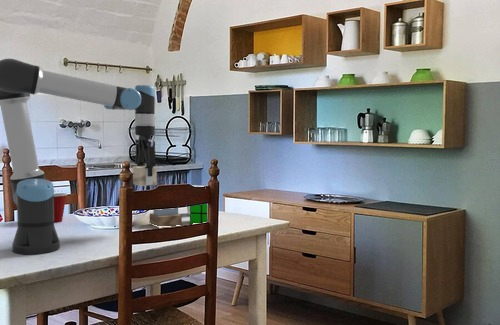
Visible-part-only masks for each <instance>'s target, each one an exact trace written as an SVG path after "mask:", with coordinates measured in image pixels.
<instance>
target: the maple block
mask: <svg viewBox="0 0 500 325" xmlns="http://www.w3.org/2000/svg"><path fill="white" fill-rule="evenodd" d="M145 167H146V165H145V166H137V165H136V166H134V165H133V166H132V185H135V186H138V187H149V186H157V185H158V184H157V183H158V181H157V176H158V172H157V171H158V167H157V166H155V167H153V185H145Z"/></svg>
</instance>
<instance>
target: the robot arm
mask: <svg viewBox="0 0 500 325" xmlns="http://www.w3.org/2000/svg"><path fill="white" fill-rule="evenodd" d="M155 92H156V91H155V87H154V86H153V85H148V84H147V85H145V84H139V85H138V84H137V85H135V86H134V88H132V87H128V88H127V87H124V86H123V87H122V86H117V85H113V84H109V83H104V82H99V81H95V80H90V79H87V78H81V77H76V76H72V75H71V76H70V75H65V74H64V73H63V74H62V73H57V72H52V71H48V70H44V69H42V68H41V67H40V65H34V64H30V63H28V62H23V61H21V60H18V59H15V58H4V59H1V60H0V109H1V114H2V115H1V116H2V120H3V124H4V125H3V126H4V131H5V135H6V141H7V147H8V151H9V155H10V160H11V161H10V162H11V168H12V171H13V173H12V175H11V176H10V178H9V181H10V186H11V191H12V195H11V196H12V200H13V203H14V204H15V205H16V210H17V211H16V212H17V214H16V215H17V217H16V218H17V219H16V220H17V228H16V231H15V235H14V238H13V241H12V247H11V248H12V252H13V253H15V254H20V255H22V254H23V255H38V254H40V255H41V254H47V253H51V252H55V251H58V250H59V249H60V247H61V241H60V238H59V235H58V233H57V230H56V227H55V223H54V194H55V189H54V183H53V182H52V181H51V180H48V179H46V175H45V172H44V171H43V170H42V169H40V166H39V162H38V156H37V151H36V145H35V140H34V135H33V130H32V124H31V119H30V114H29V109H28V101H29V99H30V98H31V95H33V96H34V95H37V94H39V93H40V94H45V95H49V96H55V97H59V98H66V99H71V100H76V101H81V102H85V103H92V104H97V105H101V106H103V107H104V108H105V109H106V110H122V111H123V110H125V111H127V110H128V111H133V110H134V124H135V126H134V131H135V132H134V133H135V135H136V136H138V139H135V153H134V154H135V155H134V156H135V157H134V164H135V165H136V166H146V167H145V185H151V186H154V185H153V167H157V164H156V148H155V147H156V141H155V140H152V136H155V131H156V127H155V124H156V123H155V120H156V118H157V117H156V116H155V109H156V108H155V106H156V105H155V104H156V94H155Z"/></svg>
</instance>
